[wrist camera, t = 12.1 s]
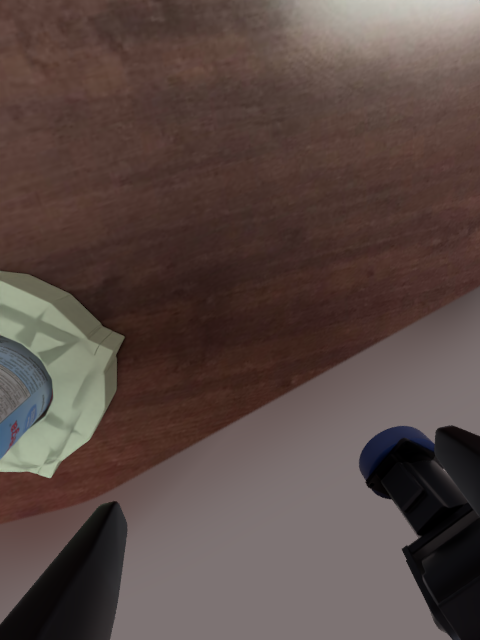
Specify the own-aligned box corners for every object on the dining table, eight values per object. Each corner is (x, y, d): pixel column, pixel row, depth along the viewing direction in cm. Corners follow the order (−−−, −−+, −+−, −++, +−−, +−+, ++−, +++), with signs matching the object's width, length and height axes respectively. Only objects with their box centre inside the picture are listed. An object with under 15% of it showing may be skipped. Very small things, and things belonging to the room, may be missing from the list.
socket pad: (147, 329, 19) (139, 343, 17) (76, 467, 22) (61, 495, 20) (-67, 229, 16) (-114, 228, 14) (-118, 405, 19) (-164, 429, 16)
